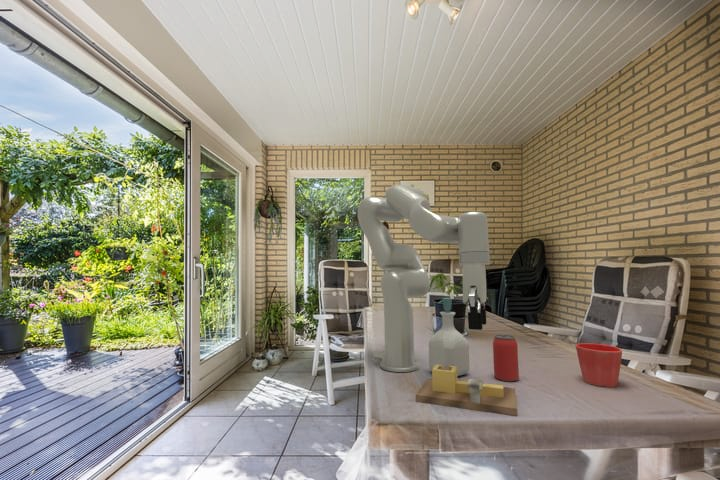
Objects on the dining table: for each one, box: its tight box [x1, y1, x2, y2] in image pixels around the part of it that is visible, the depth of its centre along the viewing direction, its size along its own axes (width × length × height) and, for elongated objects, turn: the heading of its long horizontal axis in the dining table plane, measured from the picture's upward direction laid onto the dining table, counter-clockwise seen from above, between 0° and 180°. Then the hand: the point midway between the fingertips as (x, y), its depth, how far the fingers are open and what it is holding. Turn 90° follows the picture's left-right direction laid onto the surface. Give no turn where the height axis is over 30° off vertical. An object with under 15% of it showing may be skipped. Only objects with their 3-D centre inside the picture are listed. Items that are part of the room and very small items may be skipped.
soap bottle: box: [428, 297, 470, 377], centre depth 105 cm, size 10×10×23 cm
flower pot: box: [575, 342, 623, 388], centre depth 95 cm, size 11×11×10 cm
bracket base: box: [415, 365, 518, 417], centre depth 84 cm, size 22×14×7 cm, turn 67°
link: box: [431, 365, 504, 398], centre depth 84 cm, size 16×5×5 cm, turn 67°
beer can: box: [492, 334, 520, 383], centre depth 99 cm, size 7×7×12 cm
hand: (477, 326), depth 87 cm, fingers open, 9 cm apart
